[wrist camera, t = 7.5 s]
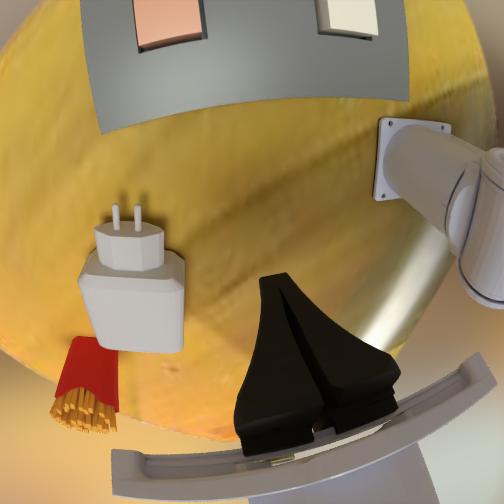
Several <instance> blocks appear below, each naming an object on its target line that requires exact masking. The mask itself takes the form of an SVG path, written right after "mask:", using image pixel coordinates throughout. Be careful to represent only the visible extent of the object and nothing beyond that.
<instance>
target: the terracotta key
mask: <svg viewBox="0 0 504 504" xmlns="http://www.w3.org/2000/svg"><path fill="white" fill-rule="evenodd" d="M133 1H134V11H135V20H136V28H137V36H138V43H139V46H140V47H142V48H144V49H147V50H149V51H151V50H154V49H158V48H162V47H167V46H171V45H176V44H180V43H185V42H191V41H197V40H202V28H201V20H200V12H199V4H198V0H133Z"/></svg>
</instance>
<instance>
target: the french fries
mask: <svg viewBox="0 0 504 504" xmlns="http://www.w3.org/2000/svg"><path fill="white" fill-rule="evenodd" d="M55 398H56V400H55V402H54V405H53V406H52V409H51V411H50V415H51V417H52V418H54V419H55V420H56V421H57V422H59V423H60V422H62V425H65V426H67V428H70V429H71V427H73V426H74V427H76V428H77V430H78V431H83V429H84V432H86V433H89V430H92V431H96V432H99V433H100V432H102V433H105V434H107V433H109V429H108V428H109V427H108V424H110V428H111V430H112V431H114V432H116V431H117V427H116V417H115V413H117V412H119V399H118V350H112V349H107V348H104V347H102V346H101V345H100V344H99V343H98V340H97V338H93V337H81V336H78V337H76V338H75V339H73V341H72V344H71V347H70V349H69V352H68V355H67V358H66V361H65V364H64V367H63V370H62V373H61V376H60V380H59V383H58V386H57V390H56V393H55Z"/></svg>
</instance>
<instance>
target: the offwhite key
mask: <svg viewBox="0 0 504 504" xmlns="http://www.w3.org/2000/svg"><path fill="white" fill-rule="evenodd" d="M314 4H315V11H316V20H317V29H318V34H321V35H332V36H342V37H350V38H358V37H368V36H378V26H377V17H376V9H375V1H374V0H314Z"/></svg>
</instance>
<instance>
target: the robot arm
mask: <svg viewBox="0 0 504 504" xmlns="http://www.w3.org/2000/svg"><path fill="white" fill-rule="evenodd" d="M389 121H390V125H388V123H389ZM441 126H442V128H441ZM382 194H383V196H382ZM381 196H382V197H381ZM373 198H374V199H375V200H376V201H383V200H390V199H398V198H403V199H404V200H405V201H406V202H408V203H409V204H410V205H411V206H412V207H413V208H415V209H416V210H417V211H418V212H419V213H420V214H422V215H423V216H424V217H425V218H426V219H427V220H428V221H429V222H431V223H432V224H433V225H434V226H435V227H436V228H437V229H438V230H439V231H440V232H441V233H442V234H443V235H445V236H446V237H447V238H448V239H449V240H450V249H449V250H450V251H451V252H452V253H453V254H454V255H455V256H456V257H457V258H458V261H457V266H456V270H457V276H458V279H459V281H460V283H461V285H462V287H463V288H464V290H465V291H466V292H467V293H468V294H469V295H470V296H471V297H472V298H473V299H474V300H475V301H477V302H479V303H480V304H482V305H485V306H486V307H490V308H496V309H504V148H492V149H490V150H489V151H486V152H485V151H483V150H481V149H479V148H478V147H476V146H474V145H472V144H470V143H468V142H466V141H464V140H462V139H460V138H458V137H456V136H454V135H451V125H450V124H448V123H443V122H435V121H427V120H417V119H406V118H392V117H382V118H381V119H380V121H379V138H378V153H377V165H376V176H375V185H374V193H373ZM259 286H260V295H261V314H260V322H259V329H258V335H257V340H256V344H255V348H254V352H253V356H252V359H251V363H250V365H249V368H248V371H247V374H246V377H245V379H244V382H243V384H242V387H241V389H240V391H239V393H238V396H237V401H236V405H235V410H234V426H235V431H236V433H237V435H238V436H239V438H240V440H241V445H242V448H241V449H234V450H227V451H219V452H208V453H194V454H175V455H174V454H173V455H148V454H143V453H141V452H139V451H134V450H120V449H112V450H111V463H112V464H111V467H112V468H111V469H112V489H113V490H112V491H113V495H114V496H117V497H124V498H132V499H141V500H151V501H168V502H202V501H203V502H205V501H221V500H233V499H241V498H248V500H249V504H440V503H439V500H438V497H437V494H436V492H435V488H434V486H433V483H432V480H431V477H430V474H429V472H428V469H427V467H426V464H425V461H424V458H423V456H422V454H421V451H420V448H419V446H418V444H417V442H418V441H419V440H421V439H423V438H425V437H426V436H428V435H430V434H432V433H433V432H435V431H436V430H438V429H439V428H441V427H443V426H444V425H446V424H447V423H449V422H450V421H452V420H453V419H455V418H456V417H458V416H459V415H460V414H462V413H463V412H465V411H466V410H467V409H469V408H470V407H471V406H473V405H474V404H475V403H477V402H478V401H479V400H480V399H482V398H483V397H484V396H485V395H487V394H488V393H489V392H490V391H491V390H492V389H494V388H495V387H496V386H497V384H498V383H497V381H496V380H495V378H494V376H493V374H492V372H491V371H490V369H489V367H488V366H487V364H486V362H485V361H484V359H483V357H482V355H481V354H480V352H477V353H475V354H474V355H472V356H471V357H469V358H468V359H466V360H465V361H464V362H463V363H462V364H461V365H460V366H459V368H458V369H456V370H455V371H453V372H452V373H450V374H448V375H447V376H445V377H443V378H442V379H440V380H438V381H436V382H435V383H433V384H431V385H429V386H427V387H426V388H424V389H422V390H420V391H418V392H416V393H414V394H412V395H410V396H408V397H406V398H404V399H402V400H400V401H398V402H396V400H395V398H394V396H393V395H394V393H395V391H394V389H393V387H392V386H393V385H394V383H395V382H396V381H397V380H398V378H399V376H400V374H401V371H400V369H399V367H398V365H397V363H396V362H395V360H394V359H393V358H392V356H391V355H390V354H388V353H386V352H383V351H381V350H379V349H377V348H375V347H373V346H371V345H369V344H367V343H365V342H363V341H362V340H360V339H359V338H357V337H355V336H354V335H352V334H351V333H349V332H348V331H346V330H345V329H343V328H342V327H341V326H339V325H338V324H337V323H335V322H334V321H333V320H331V319H330V318H329V317H328V316H327V315H326V314H324V313H323V312H322V311H321V310H320V309H319V308H318V307H317V306H316V305H315V304H314V303H313V302H312V301H311V300H310V299H309V298H308V297H307V296H306V295H305V294H304V293H303V292H302V291H301V289H300V288H299V287H298V286H297V285H296V284H295V282H294V281H293V280H292V279H291V277H290V276H289V275H288V274H287V273H286V272H285V273H280V274H275V275H270V276H265V277H261V278H260V279H259ZM389 420H391V421H389ZM387 421H389V422H387ZM385 422H387V423H385ZM383 423H385V424H383ZM381 424H383V426H382V427H381V428H380V429H379V430H378V431H376V432H375V433H373V434H371V435H368V436H366V437H363V438H361V439H358V440H355V441H353V442H350V443H347V444H344V445H341V446H338V447H335V448H333V449H330V450H327V451H323V452H320V453H317V454H314V455H311V456H308V457H304V458H301V459H298V460H294V461H290V462H287V463H283V464H279V465H275V466H272V465H271V462H270V461H262V460H267V459H272V458H277V457H282V456H286V455H290V454H294V453H298V452H302V451H306V450H310V449H313V448H317V447H320V446H323V445H327V444H330V443H333V442H336V441H339V440H342V439H345V438H348V437H350V436H353V435H356V434H359V433H361V432H364V431H366V430H369V429H371V428H373V427H376V426H378V425H381ZM312 428H313V431H314V433H313V432H312ZM256 461H262V462H256ZM250 462H251V463H250ZM237 464H238V465H237Z"/></svg>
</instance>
